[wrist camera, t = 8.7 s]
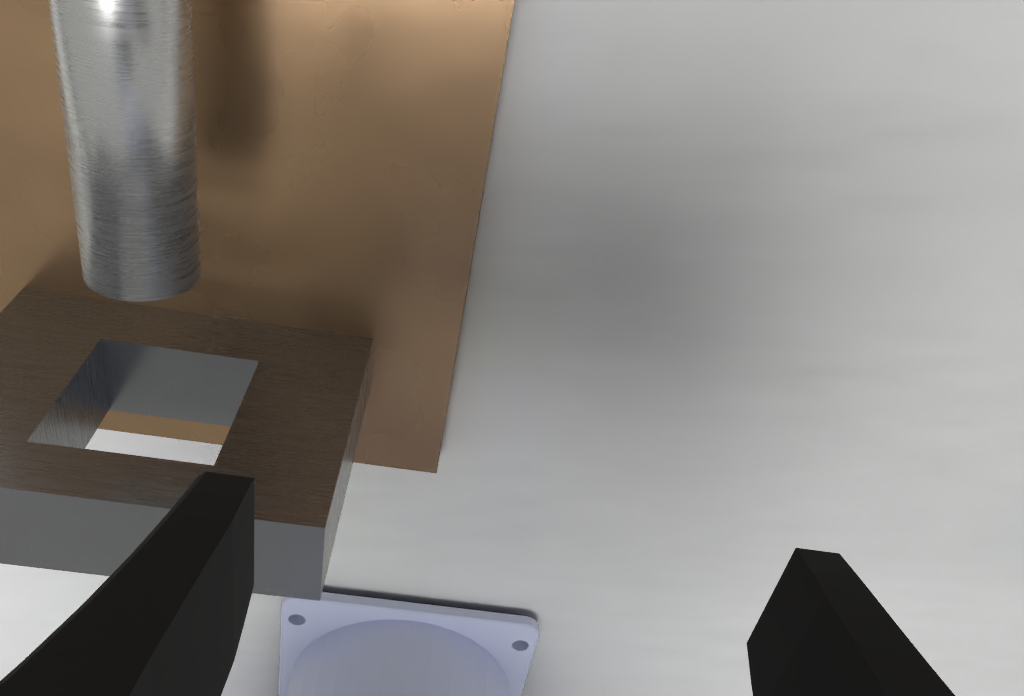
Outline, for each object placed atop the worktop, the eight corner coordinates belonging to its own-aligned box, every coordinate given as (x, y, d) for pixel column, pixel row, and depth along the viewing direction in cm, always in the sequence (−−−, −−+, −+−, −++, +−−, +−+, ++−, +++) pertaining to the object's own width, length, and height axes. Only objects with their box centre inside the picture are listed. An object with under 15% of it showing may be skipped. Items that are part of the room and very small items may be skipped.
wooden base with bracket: (439, 453, 24) (412, 675, 18) (-20, 391, 22) (-203, 606, 17) (579, -404, 14) (623, -522, 8) (-236, -589, 12) (-875, -883, 7)
